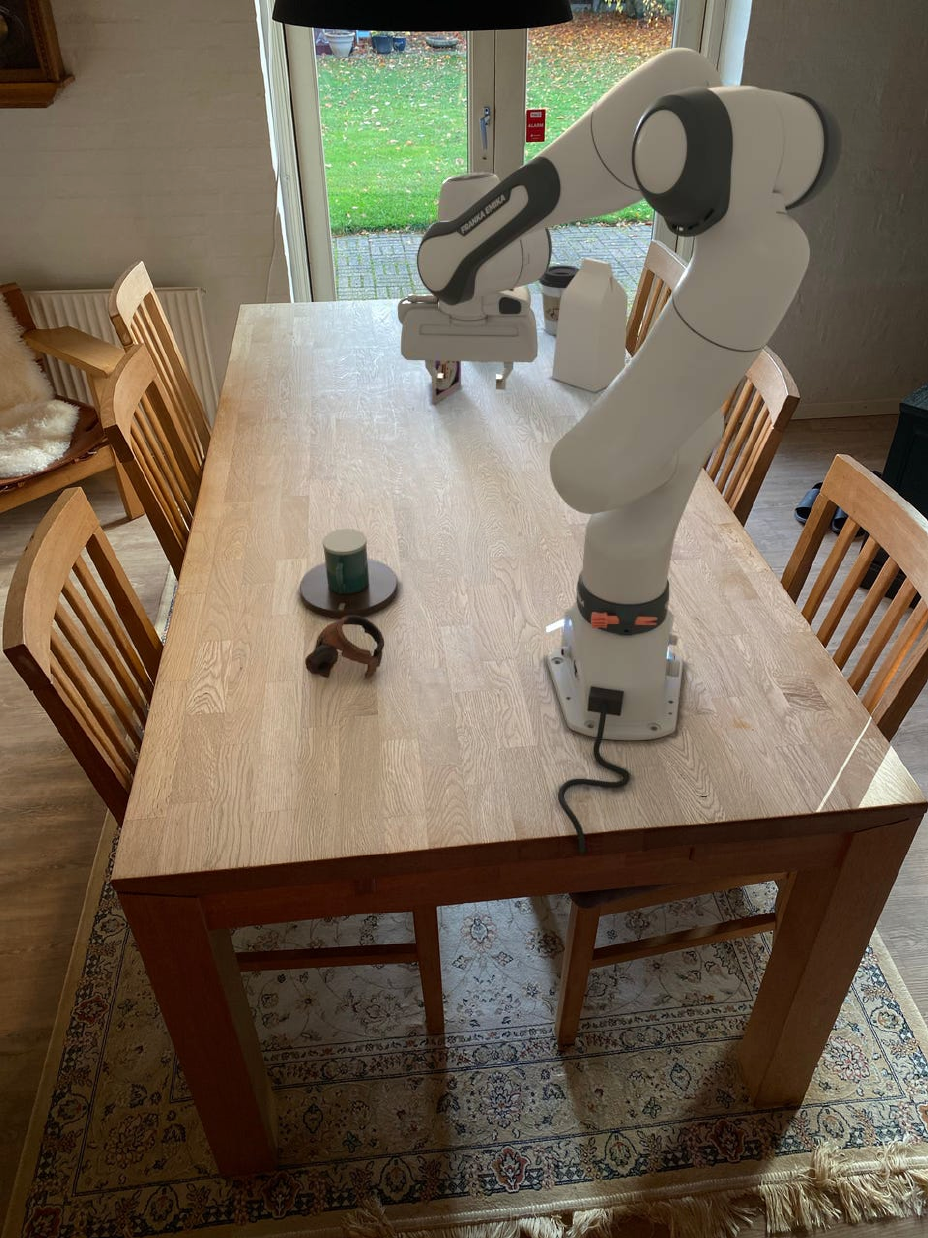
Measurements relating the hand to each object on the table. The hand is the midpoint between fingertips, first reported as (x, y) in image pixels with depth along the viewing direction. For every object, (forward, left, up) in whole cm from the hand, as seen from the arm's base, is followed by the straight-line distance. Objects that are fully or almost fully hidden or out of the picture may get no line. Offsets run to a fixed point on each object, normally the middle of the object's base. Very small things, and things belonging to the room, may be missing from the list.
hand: (469, 387), depth 142 cm
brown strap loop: (-35, +16, -27) cm, 47 cm away
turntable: (-16, +18, -27) cm, 36 cm away
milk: (+72, -23, -27) cm, 80 cm away
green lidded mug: (-17, +18, -25) cm, 36 cm away
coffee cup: (+103, -17, -27) cm, 108 cm away
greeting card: (+62, +11, -27) cm, 69 cm away
